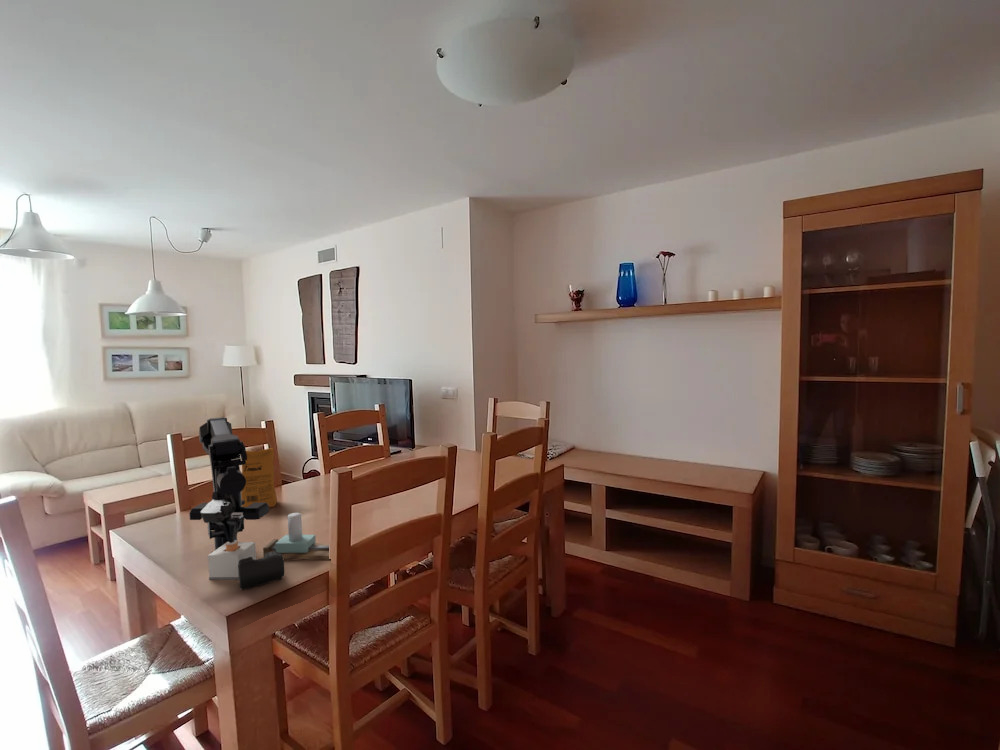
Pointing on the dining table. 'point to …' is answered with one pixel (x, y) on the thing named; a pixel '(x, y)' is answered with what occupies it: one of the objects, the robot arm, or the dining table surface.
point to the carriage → (295, 537)
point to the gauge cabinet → (229, 561)
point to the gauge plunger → (232, 546)
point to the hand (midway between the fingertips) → (231, 542)
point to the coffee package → (259, 478)
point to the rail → (313, 553)
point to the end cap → (260, 570)
